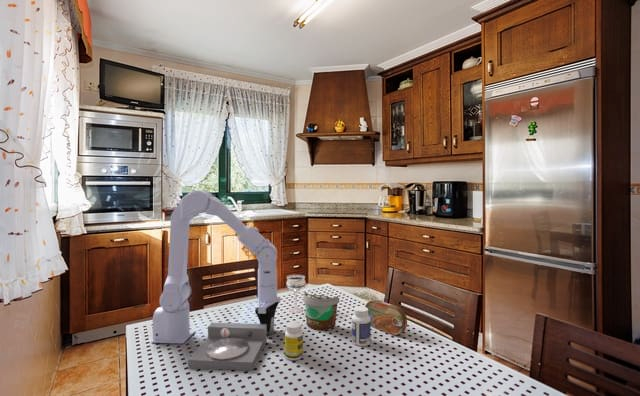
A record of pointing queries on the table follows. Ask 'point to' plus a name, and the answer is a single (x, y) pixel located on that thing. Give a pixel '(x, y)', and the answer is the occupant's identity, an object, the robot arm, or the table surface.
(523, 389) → the table surface
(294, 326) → the supplement bottle
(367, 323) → the pill bottle
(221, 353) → the pan
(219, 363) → the scale
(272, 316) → the cylinder
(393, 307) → the tin
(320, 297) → the food container
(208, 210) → the robot arm
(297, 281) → the wineglass
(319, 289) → the table surface
